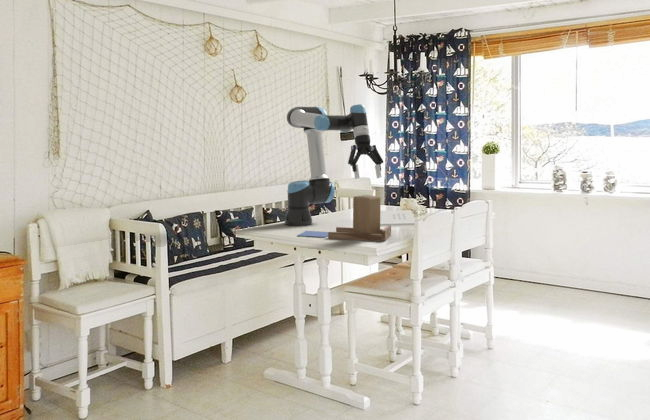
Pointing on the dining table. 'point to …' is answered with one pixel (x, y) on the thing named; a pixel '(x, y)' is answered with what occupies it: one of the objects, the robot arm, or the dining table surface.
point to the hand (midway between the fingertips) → (368, 178)
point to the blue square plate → (314, 234)
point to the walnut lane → (359, 234)
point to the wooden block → (366, 214)
